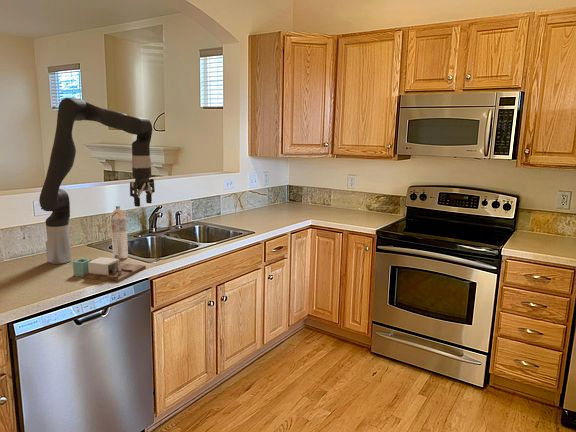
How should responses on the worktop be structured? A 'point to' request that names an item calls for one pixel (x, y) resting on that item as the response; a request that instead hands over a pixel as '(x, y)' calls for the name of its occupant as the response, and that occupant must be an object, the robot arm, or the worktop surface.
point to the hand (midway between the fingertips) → (143, 204)
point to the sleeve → (80, 267)
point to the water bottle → (119, 233)
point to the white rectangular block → (103, 265)
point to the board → (117, 272)
